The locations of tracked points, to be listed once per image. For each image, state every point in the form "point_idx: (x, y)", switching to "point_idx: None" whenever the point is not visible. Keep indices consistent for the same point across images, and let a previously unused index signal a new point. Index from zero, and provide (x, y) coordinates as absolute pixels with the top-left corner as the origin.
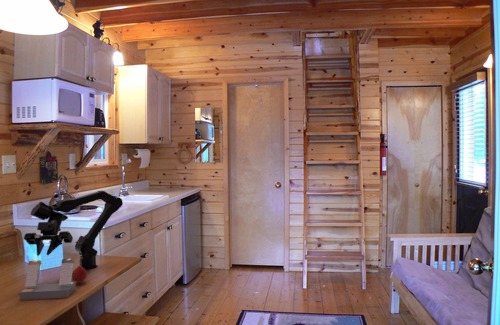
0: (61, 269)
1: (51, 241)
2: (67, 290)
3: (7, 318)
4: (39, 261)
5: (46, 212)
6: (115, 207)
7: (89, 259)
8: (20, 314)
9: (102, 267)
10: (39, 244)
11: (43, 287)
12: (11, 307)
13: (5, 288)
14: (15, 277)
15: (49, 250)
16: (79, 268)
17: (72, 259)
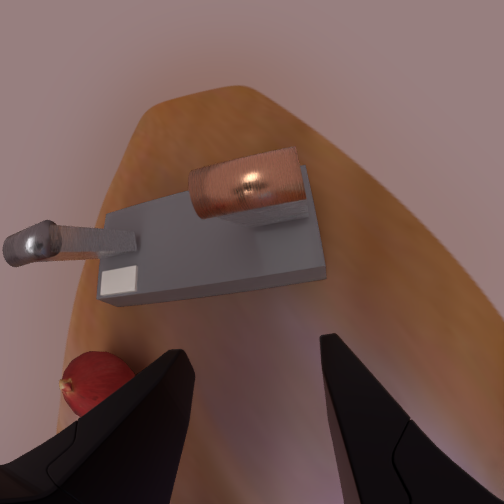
0: (82, 228)
1: (21, 488)
2: (107, 219)
3: (244, 89)
4: (192, 179)
5: None
6: None
7: None
8: (221, 109)
9: None
10: (359, 496)
11: (216, 231)
12: (290, 135)
13: (498, 318)
14: None
15: (127, 382)
16: (67, 373)
17: (6, 243)
